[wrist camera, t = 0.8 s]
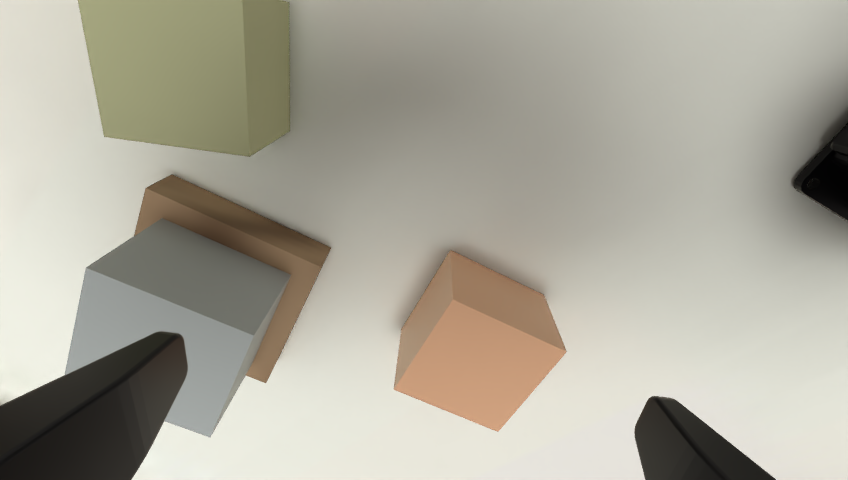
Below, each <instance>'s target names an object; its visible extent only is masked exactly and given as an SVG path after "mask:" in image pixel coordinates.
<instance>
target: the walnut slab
mask: <svg viewBox="0 0 848 480" xmlns="http://www.w3.org/2000/svg"><path fill="white" fill-rule="evenodd" d="M161 218H163V219H165V220H167V221H170V222H172V223H174V224H177V225H179V226H181V227H183V228H186V229H188V230H190V231H192V232H195V233H197V234H199V235H202V236H204V237H206V238H208V239H211V240H213V241H215V242H218V243H220V244H222V245H224V246H227V247H229V248H231V249H233V250H236V251H238V252H240V253H243V254H245V255H247V256H249V257H252V258H254V259H256V260H258V261H261V262H263V263H265V264H268V265H270V266H272V267H274V268H277V269H279V270H281V271H284V272H286V273H288V274H290V275H291V277H290V279H289V281H288V284H287V286H286V288H285V290H284V293H283V295H282V297H281V299H280V302H279V304H278V306H277V308H276V311H275V313H274V315H273V318H272V320H271V322H270V324H269V327H268V329H267V331H266V333H265V336H264V338H263V340H262V342H261V345H260V347H259V349H258V351H257V354H256V356H255V358H254V360H253V363H252V365H251V366H250V368H249V370H248V372H247V374H246V376H249V377H251V378H254V379H257V380H259V381H262V382H264V383H266V382H267V380H268V378H269V376H270V374H271V372H272V370H273V368H274V366H275V364H276V362H277V360H278V358H279V356H280V354H281V352H282V349H283V347H284V345H285V343H286V341H287V339H288V337H289V335H290V333H291V331H292V329H293V326H294V324H295V322H296V320H297V318H298V316H299V314H300V312H301V310H302V308H303V306H304V303H305V301H306V299H307V297H308V295H309V293H310V291H311V289H312V287H313V285H314V283H315V280H316V278H317V276H318V274H319V272H320V270H321V268H322V266H323V264H324V262H325V260H326V257H327V255H328V253H329V251H330V249H331V248H330V247H328V246H326V245H324V244H322V243H320V242H317V241H315V240H313V239H311V238H309V237H307V236H304V235H302V234H300V233H298V232H296V231H294V230H291V229H289V228H287V227H285V226H283V225H281V224H278V223H276V222H274V221H272V220H270V219H268V218H265V217H263V216H261V215H259V214H257V213H255V212H252V211H250V210H248V209H246V208H244V207H242V206H239V205H237V204H235V203H233V202H231V201H229V200H226V199H224V198H222V197H220V196H218V195H216V194H213V193H211V192H209V191H207V190H205V189H202V188H200V187H198V186H196V185H194V184H192V183H189V182H187V181H185V180H183V179H181V178H179V177H176V176H174V175H170V176H168V177H166V178H164V179H162V180H160V181H158V182H156V183H154V184H153V185H151V186H149V187H147V188H146V189H145V193H144V197H143V201H142V206H141V210H140V214H139V218H138V222H137V226H136V230H135V234H134V236H135V235H137V234H138V233H140V232H142V231H143V230H145V229H146V228H148V227H149V226H151V225H152V224H154V223H155V222H157V221H158V220H160V219H161Z"/></svg>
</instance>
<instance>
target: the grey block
mask: <svg viewBox="0 0 848 480" xmlns="http://www.w3.org/2000/svg"><path fill="white" fill-rule="evenodd" d="M290 277H291V275H290V274H288V273H286V272H284V271H281V270H279V269H277V268H274V267H272V266H270V265H268V264H265V263H263V262H261V261H258V260H256V259H254V258H252V257H249V256H247V255H245V254H243V253H240V252H238V251H236V250H233V249H231V248H229V247H227V246H224V245H222V244H220V243H218V242H215V241H213V240H211V239H208V238H206V237H204V236H202V235H199V234H197V233H195V232H192V231H190V230H188V229H186V228H183V227H181V226H179V225H177V224H174V223H172V222H170V221H167V220H165V219H163V218H161V219H160V220H158V221H157V222H155V223H154V224H152V225H151V226H149V227H148V228H146V229H145V230H143V231H142V232H140V233H138V234H137V235H135V236H134V237H132V238H131V239H129V240H128V241H126V242H125V243H123V244H122V245H120V246H119V247H117V248H115V249H114V250H112V251H111V252H109V253H108V254H106V255H105V256H103V257H102V258H100V259H99V260H97V261H96V262H94V263H93V264H91V265H89V266H88V267H86V270H85V275H84V280H83V285H82V290H81V295H80V300H79V305H78V310H77V316H76V321H75V326H74V331H73V336H72V341H71V346H70V351H69V356H68V361H67V366H66V371H65V375H66V374H68V373H70V372H73V371H75V370H77V369H79V368H81V367H83V366H85V365H87V364H90V363H92V362H94V361H96V360H98V359H100V358H102V357H104V356H106V355H109V354H111V353H113V352H115V351H117V350H119V349H121V348H123V347H126V346H128V345H130V344H132V343H134V342H136V341H138V340H140V339H142V338H145V337H147V336H149V335H151V334H153V333H155V332H158V331H165V332H173V333H179V334H181V335H182V336H183V338H184V342H185V349H186V356H187V362H188V372H187V376H186V379H185V381H184V383H183V385H182V387H181V389H180V391H179V393H178V395H177V397H176V399H175V401H174V403H173V405H172V407H171V409H170V411H169V413H168V415H167V417H166V418H165V420H164V421H165V422H168V423H171V424H174V425H177V426H180V427H182V428H185V429H188V430H191V431H194V432H196V433H199V434H202V435H205V436H208V437H211V435H212V433H213V432H214V430H215V428H216V426H217V425H218V423H219V421H220V419H221V418H222V416H223V414H224V412H225V411H226V409H227V407H228V405H229V403H230V402H231V400H232V398H233V396H234V395H235V393H236V391H237V389H238V388H239V386H240V384H241V382H242V381H243V379H244V377H245V375H246V374H247V372H248V370H249V368H250V366H251V365H252V363H253V360H254V358H255V356H256V354H257V351H258V349H259V347H260V345H261V342H262V340H263V338H264V336H265V333H266V331H267V329H268V327H269V324H270V322H271V320H272V318H273V315H274V313H275V311H276V308H277V306H278V304H279V302H280V299H281V297H282V295H283V293H284V290H285V288H286V286H287V284H288V281H289V279H290Z"/></svg>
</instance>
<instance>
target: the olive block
mask: <svg viewBox="0 0 848 480" xmlns="http://www.w3.org/2000/svg"><path fill="white" fill-rule="evenodd" d="M78 3H79V9H80V14H81V19H82V24H83V29H84V35H85V40H86V45H87V50H88V55H89V60H90V66H91V71H92V76H93V81H94V86H95V92H96V97H97V102H98V107H99V112H100V118H101V123H102V128H103V133H104V137H110V138H117V139H124V140H131V141H139V142H146V143H153V144H161V145H168V146H175V147H183V148H190V149H197V150H205V151H212V152H219V153H227V154H234V155H241V156H249V157H250V156H251V155H253V154H255V153H256V152H258V151H259V150H261V149H262V148H264V147H266V146H267V145H269V144H270V143H272V142H273V141H275V140H277V139H278V138H280V137H281V136H283V135H284V134H286V133H287V132H289V131H290V68H289V2H286V1H281V0H78Z"/></svg>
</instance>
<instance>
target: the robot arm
mask: <svg viewBox="0 0 848 480" xmlns="http://www.w3.org/2000/svg"><path fill="white" fill-rule="evenodd" d="M812 179H813V181H812V183H811V184H810V185H808V186H807V184H808V182H809V181H810V180H812ZM794 187H795V189H796V190H797V191H799V192H800V193H802V194H804V195H805V196H807V197H808V198H810V199H812V200H813V201H815V202H817V203H818V204H820V205H822V206H823V207H825V208H826V209H828V210H830V211H831V212H833V213H835V214H836V215H838V216H840V217H841V218H843V219H844V220H846V221H848V124H847V125H846V126H845V127H844V128H843V129H842V130H841V131H840V132H839V133H838V134H837V135H836V136H835V137H834V139H833V140H832V141H831V142H830V143H829V144H828V145H827V146H826V147H825V148H824V149H823V150H822V151H821V152H820V153H819V154H818V155H817V156H816V157H815V159H814V160H813V161H812V162H811V163H810V164H809V165H808V166H807V167H806V168H805V169H804V170H803V171H802V172H801V173H800V174H799V175H798V177H797V178H796V180H795V182H794ZM187 372H188V362H187V356H186V349H185V342H184V338H183V336H182V335H181V334H179V333H173V332H165V331H158V332H155V333H153V334H151V335H149V336H147V337H145V338H142V339H140V340H138V341H136V342H134V343H132V344H130V345H128V346H126V347H123V348H121V349H119V350H117V351H115V352H113V353H111V354H109V355H106V356H104V357H102V358H100V359H98V360H96V361H94V362H92V363H90V364H87V365H85V366H83V367H81V368H79V369H77V370H75V371H73V372H70V373H68V374H66V375H64V376H62V377H60V378H58V379H56V380H54V381H51V382H49V383H47V384H45V385H43V386H41V387H39V388H37V389H35V390H32V391H30V392H28V393H26V394H24V395H22V396H20V397H18V398H15V399H13V400H11V401H9V402H7V403H5V404H3V405H1V406H0V480H131V479H132V478H133V476H134V475H135V473H136V472H137V470H138V468H139V467H140V465H141V463H142V462H143V460H144V459H145V457H146V455H147V453H148V451H149V450H150V448H151V446H152V444H153V442H154V440H155V438H156V436H157V434H158V432H159V430H160V428H161V426H162V424H163V422H164V420H165V418H166V417H167V415H168V413H169V411H170V409H171V407H172V405H173V403H174V401H175V399H176V397H177V395H178V393H179V391H180V389H181V387H182V385H183V383H184V381H185V379H186V376H187ZM635 440H636V444H637V448H638V452H639V456H640V460H641V464H642V468H643V472H644V476H645V480H776V479H775V478H773V477H772V476H771V475H770V474H768V473H767V472H766V471H765V470H763V469H762V468H761V467H760V466H758V465H757V464H756V463H755V462H753V461H752V460H751V459H750V458H748V457H747V456H746V455H745V454H743V453H742V452H741V451H739V450H738V449H737V448H736V447H734V446H733V445H732V444H731V443H729V442H728V441H727V440H726V439H724V438H723V437H722V436H721V435H719V434H718V433H717V432H716V431H714V430H713V429H712V428H711V427H709V426H708V425H707V424H706V423H704V422H703V421H702V420H701V419H699V418H698V417H697V416H695V415H694V414H693V413H692V412H690V411H689V410H688V409H687V408H685V407H684V406H683V405H682V404H680V403H679V402H678V401H676V400H675V399H672V398H667V397H659V396H652V397H650V398H649V399H648V401H647V402H646V405H645V407H644V409H643V411H642V413H641V415H640V417H639V419H638V421H637V423H636V426H635Z"/></svg>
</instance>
